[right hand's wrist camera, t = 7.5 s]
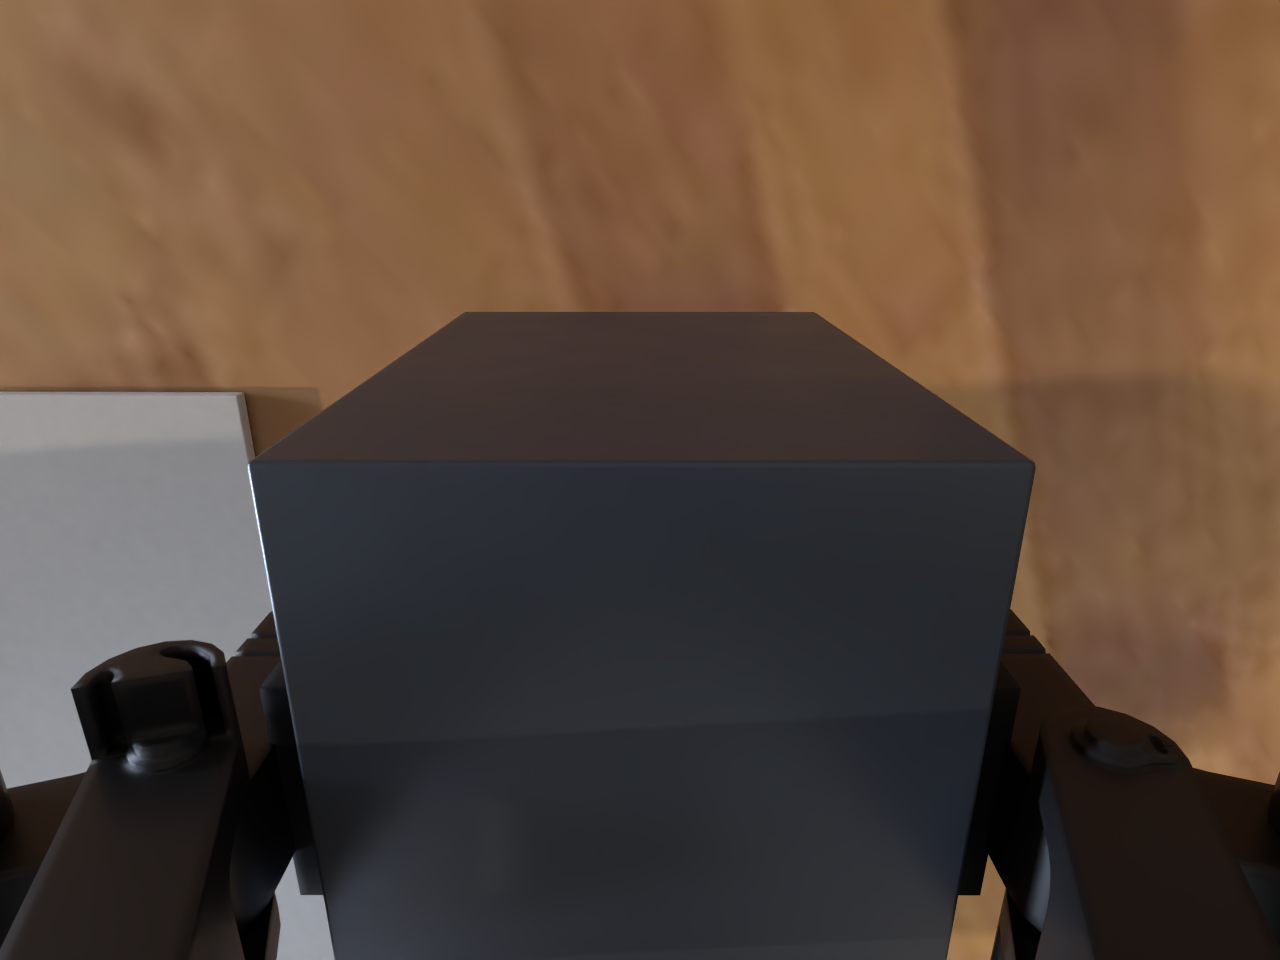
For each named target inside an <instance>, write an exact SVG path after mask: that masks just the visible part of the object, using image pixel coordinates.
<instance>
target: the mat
mask: <svg viewBox="0 0 1280 960" xmlns="http://www.w3.org/2000/svg"><path fill="white" fill-rule="evenodd" d="M254 458H255V453H254V447H253V442H252V436H251V430H250V424H249V419H248V413H247V407H246V402H245V396H244V393H243V392H0V770H1V773H2V776H3V779H4V782H5V785H6V788H7V789H8V788H13V787H17V786H22V785H27V784H32V783H37V782H42V781H47V780H52V779H57V778H61V777H66V776H71V775H76V774H79V773H83V772H86V771H87V769H88V767H89V765H90V763H91V761H92V759H91V756H90V753H89V749H88V746H87V743H86V739H85V736H84V733H83V729H82V726H81V723H80V719H79V716H78V712H77V709H76V706H75V702H74V699H73V696H72V692H71V688H72V687H73V686H74V685H75V684H76V683H77V682H78V680H79V679H80V678H81V677H82V676H83V675H84V674H85V673H86V672H88V671H90V670H91V669H93V668H95V667H96V666H98V665H100V664H101V663H103V662H104V661H106V660H108V659H110V658H112V657H115V656H117V655H120V654H122V653H125V652H128V651H130V650H133V649H135V648H138V647H143V646H147V645H152V644H156V643H160V642H165V641H180V640H195V641H201V642H206V643H212V644H213V645H215V646H216V647H217V648H219V649H220V650H221V651H223V652H224V656H225V660H226V662H227V661H228V660H229V659H230V658H231V657H232V656H235V655H236V651H237V650H238V649H239V647H240V646H241V645H242V644H243V643H244V642H245V640H246V639H247V638H251V633H252V632H253V631H254V630H255V629H256V628H257V626H258V625H259V624H260V623H261V622H262V621H263V620H264V618H265V617H266V616H267V615H268V614H269V613H270V612H271V611H273V610H272V605H271V599H270V594H269V588H268V582H267V577H266V571H265V565H264V560H263V554H262V549H261V543H260V537H259V532H258V526H257V521H256V515H255V509H254V504H253V498H252V492H251V487H250V481H249V476H248V470H247V466H248V462H249V461H251V460H252V459H254ZM275 894H276V899H277V904H278V909H279V916H280V923H281V927H280V935H279V943H278V951H277V960H335V958H334V953H333V947H332V941H331V936H330V930H329V925H328V919H327V913H326V908H325V902H324V897H323V895H300V890H299V885H298V880H297V875H296V870H295V865H294V860H293V857H292V859H291V861H290V863H289V865H288V867H287V869H286V871H285V873H284V875H283V877H282V878H281V880H280V882H279V884H278V886H277V888H276V890H275Z"/></svg>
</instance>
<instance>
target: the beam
mask: <svg viewBox="0 0 1280 960" xmlns="http://www.w3.org/2000/svg"><path fill="white" fill-rule="evenodd" d="M247 470H248V476H249V481H250V487H251V492H252V498H253V504H254V509H255V515H256V521H257V526H258V532H259V537H260V543H261V549H262V554H263V560H264V565H265V571H266V577H267V582H268V588H269V594H270V599H271V605H272V610H273V616H274V622H275V627H276V633H277V638H278V644H279V650H280V655H281V661H282V666H283V672H284V678H285V683H286V689H287V695H288V700H289V706H290V711H291V717H292V723H293V728H294V734H295V739H296V745H297V751H298V756H299V762H300V767H301V773H302V779H303V784H304V790H305V796H306V801H307V807H308V812H309V818H310V824H311V829H312V835H313V840H314V846H315V852H316V857H317V863H318V869H319V874H320V880H321V885H322V891H323V897H324V902H325V908H326V913H327V919H328V925H329V930H330V936H331V941H332V947H333V953H334V958H335V960H946V959H947V954H948V948H949V943H950V937H951V932H952V926H953V921H954V915H955V910H956V904H957V899H958V893H959V887H960V882H961V876H962V871H963V865H964V860H965V854H966V849H967V843H968V838H969V832H970V827H971V821H972V816H973V810H974V805H975V799H976V794H977V788H978V783H979V777H980V772H981V766H982V761H983V755H984V749H985V744H986V738H987V733H988V727H989V722H990V716H991V711H992V705H993V700H994V694H995V689H996V683H997V678H998V672H999V667H1000V661H1001V656H1002V650H1003V645H1004V639H1005V634H1006V628H1007V622H1008V617H1009V611H1010V606H1011V600H1012V595H1013V589H1014V584H1015V578H1016V573H1017V567H1018V562H1019V556H1020V551H1021V545H1022V540H1023V534H1024V529H1025V523H1026V518H1027V512H1028V507H1029V501H1030V496H1031V490H1032V484H1033V479H1034V473H1035V463H1034V462H1033V461H1032V460H1030V459H1029V458H1027V457H1026V456H1024V455H1023V454H1021V453H1020V452H1018V451H1017V450H1015V449H1014V448H1013V447H1011V446H1010V445H1008V444H1007V443H1005V442H1004V441H1002V440H1001V439H999V438H998V437H996V436H995V435H994V434H992V433H991V432H989V431H988V430H986V429H985V428H983V427H982V426H980V425H979V424H977V423H976V422H974V421H973V420H972V419H970V418H969V417H967V416H966V415H964V414H963V413H961V412H960V411H958V410H957V409H955V408H954V407H952V406H951V405H950V404H948V403H947V402H945V401H944V400H942V399H941V398H939V397H938V396H936V395H935V394H933V393H932V392H931V391H929V390H928V389H926V388H925V387H923V386H922V385H920V384H919V383H917V382H916V381H914V380H913V379H911V378H910V377H909V376H907V375H906V374H904V373H903V372H901V371H900V370H898V369H897V368H895V367H894V366H892V365H891V364H889V363H888V362H887V361H885V360H884V359H882V358H881V357H879V356H878V355H876V354H875V353H873V352H872V351H870V350H869V349H868V348H866V347H865V346H863V345H862V344H860V343H859V342H857V341H856V340H854V339H853V338H851V337H850V336H848V335H847V334H846V333H844V332H843V331H841V330H840V329H838V328H837V327H835V326H834V325H832V324H831V323H829V322H828V321H826V320H825V319H824V318H822V317H821V316H819V315H818V314H816V313H814V312H465V313H463V314H462V315H460V316H459V317H457V318H456V319H454V320H453V321H451V322H450V323H449V324H447V325H446V326H444V327H443V328H441V329H440V330H438V331H437V332H436V333H434V334H433V335H431V336H430V337H428V338H427V339H425V340H424V341H423V342H421V343H420V344H418V345H417V346H415V347H414V348H412V349H411V350H410V351H408V352H407V353H405V354H404V355H402V356H401V357H399V358H398V359H397V360H395V361H394V362H392V363H391V364H389V365H388V366H386V367H385V368H384V369H382V370H381V371H379V372H378V373H376V374H375V375H373V376H372V377H371V378H369V379H368V380H366V381H365V382H363V383H362V384H360V385H359V386H358V387H356V388H355V389H353V390H352V391H350V392H349V393H348V394H346V395H345V396H343V397H342V398H340V399H339V400H337V401H336V402H335V403H333V404H332V405H330V406H329V407H327V408H326V409H324V410H323V411H322V412H320V413H319V414H317V415H316V416H314V417H313V418H311V419H310V420H309V421H307V422H306V423H304V424H303V425H301V426H300V427H298V428H297V429H296V430H294V431H293V432H291V433H290V434H288V435H287V436H285V437H284V438H283V439H281V440H280V441H278V442H277V443H275V444H274V445H272V446H271V447H270V448H268V449H267V450H265V451H264V452H262V453H261V454H259V455H258V456H257V457H255V458H254V459H252V460H251V461H249V462H248V466H247Z"/></svg>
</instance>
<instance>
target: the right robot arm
mask: <svg viewBox="0 0 1280 960" xmlns="http://www.w3.org/2000/svg"><path fill="white" fill-rule="evenodd" d="M71 692H72V696H73V699H74V702H75V706H76V709H77V712H78V716H79V719H80V723H81V726H82V729H83V733H84V736H85V739H86V743H87V746H88V749H89V753H90V756H91V759H92V761H91V763H90V765H89V767H88V769H87V771H86V772H83V773H79V774H76V775H71V776H66V777H61V778H57V779H52V780H47V781H42V782H37V783H32V784H27V785H22V786H17V787H13V788H8V789H7V788H6V785H5V782H4V779H3V776H2V773H1V770H0V960H277V951H278V943H279V935H280V927H281V923H280V916H279V909H278V904H277V899H276V894H275V890H276V888H277V886H278V884H279V882H280V880H281V878H282V877H283V875H284V873H285V871H286V869H287V867H288V865H289V863H290V861H291V859H292V857H293V860H294V865H295V870H296V875H297V880H298V885H299V890H300V895H323V891H322V885H321V880H320V874H319V869H318V863H317V857H316V852H315V846H314V840H313V835H312V829H311V824H310V818H309V812H308V807H307V801H306V796H305V790H304V784H303V779H302V773H301V767H300V762H299V756H298V751H297V745H296V739H295V734H294V728H293V723H292V717H291V711H290V706H289V700H288V695H287V689H286V683H285V678H284V672H283V666H282V661H281V655H280V650H279V644H278V638H277V633H276V627H275V622H274V616H273V611H271V612H270V613H269V614H268V615H267V616H266V617H265V618H264V620H263V621H262V622H261V623H260V624H259V625H258V626H257V628H256V629H255V630H254V631H253V632H252V633H251V638H247V639H246V640H245V642H244V643H243V644H242V645H241V646H240V647H239V649H238V650H237V651H236V655H235V656H232V657H231V658H230V659H229V660H228V661H227V662H226V660H225V656H224V652H223V651H221V650H220V649H219V648H217V647H216V646H215V645H213V644H212V643H206V642H201V641H195V640H180V641H165V642H160V643H156V644H152V645H147V646H143V647H138V648H135V649H133V650H130V651H128V652H125V653H122V654H120V655H117V656H115V657H112V658H110V659H108V660H106V661H104V662H103V663H101V664H100V665H98V666H96V667H95V668H93V669H91V670H90V671H88V672H86V673H85V674H84V675H83V676H82V677H81V678H80V679H79V680H78V682H77V683H76V684H75V685H74V686H73V687H72V688H71ZM988 854H989V856H990V858H991V860H992V862H993V864H994V866H995V868H996V870H997V872H998V873H999V875H1000V877H1001V879H1002V881H1003V883H1004V885H1005V887H1006V890H1005V894H1004V899H1003V904H1002V908H1001V913H1000V918H999V922H998V927H997V932H996V937H995V941H994V946H993V951H992V955H991V960H1280V772H1279V775H1278V778H1277V781H1276V784H1275V785H1271V784H1266V783H1261V782H1256V781H1251V780H1246V779H1241V778H1236V777H1231V776H1227V775H1222V774H1217V773H1212V772H1207V771H1203V770H1199V769H1196V768H1192V765H1191V763H1190V761H1189V759H1188V758H1187V757H1186V756H1185V754H1184V753H1183V752H1182V750H1181V749H1180V748H1179V747H1178V745H1177V744H1176V743H1175V742H1174V741H1173V740H1171V739H1170V738H1168V737H1167V736H1166V735H1164V734H1163V733H1161V732H1160V731H1159V730H1157V729H1156V728H1155V727H1153V726H1151V725H1149V724H1147V723H1144V722H1142V721H1140V720H1138V719H1136V718H1134V717H1131V716H1129V715H1127V714H1124V713H1120V712H1116V711H1112V710H1108V709H1105V708H1101V707H1095V705H1094V704H1093V703H1092V702H1091V701H1090V700H1089V699H1088V697H1087V696H1086V695H1085V694H1084V693H1083V692H1082V691H1081V689H1080V688H1079V687H1078V686H1077V685H1076V684H1075V682H1074V681H1073V680H1072V679H1071V678H1070V677H1069V676H1068V674H1067V673H1066V672H1065V671H1064V670H1063V669H1062V668H1061V666H1060V665H1059V664H1058V663H1057V662H1056V661H1055V660H1054V658H1053V657H1052V656H1051V655H1050V654H1046V652H1045V648H1044V647H1043V646H1042V645H1041V643H1040V642H1039V641H1038V640H1037V639H1036V638H1035V637H1034V635H1030V631H1029V630H1028V628H1027V627H1026V626H1025V625H1024V624H1023V623H1022V622H1021V620H1020V619H1019V618H1018V617H1017V616H1016V615H1015V614H1014V612H1013V611H1012V610H1011V609H1010V611H1009V617H1008V622H1007V628H1006V634H1005V639H1004V645H1003V650H1002V656H1001V661H1000V667H999V672H998V678H997V683H996V689H995V694H994V700H993V705H992V711H991V716H990V722H989V727H988V733H987V738H986V744H985V749H984V755H983V761H982V766H981V772H980V777H979V783H978V788H977V794H976V799H975V805H974V810H973V816H972V821H971V827H970V832H969V838H968V843H967V849H966V854H965V860H964V865H963V871H962V876H961V882H960V887H959V893H958V895H980V893H981V888H982V883H983V878H984V873H985V868H986V863H987V858H988Z"/></svg>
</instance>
